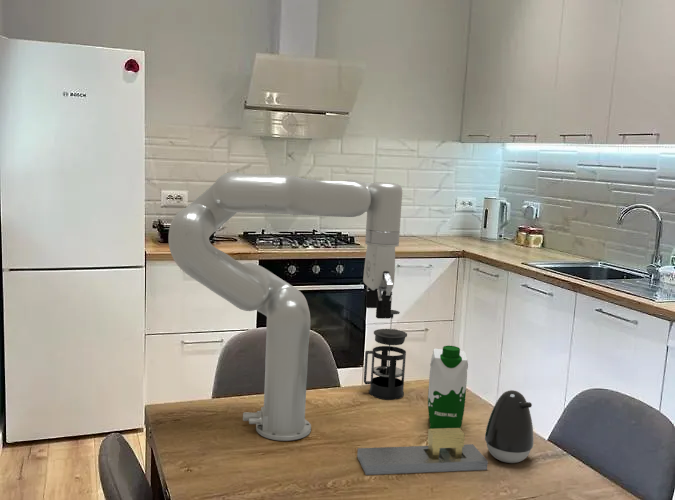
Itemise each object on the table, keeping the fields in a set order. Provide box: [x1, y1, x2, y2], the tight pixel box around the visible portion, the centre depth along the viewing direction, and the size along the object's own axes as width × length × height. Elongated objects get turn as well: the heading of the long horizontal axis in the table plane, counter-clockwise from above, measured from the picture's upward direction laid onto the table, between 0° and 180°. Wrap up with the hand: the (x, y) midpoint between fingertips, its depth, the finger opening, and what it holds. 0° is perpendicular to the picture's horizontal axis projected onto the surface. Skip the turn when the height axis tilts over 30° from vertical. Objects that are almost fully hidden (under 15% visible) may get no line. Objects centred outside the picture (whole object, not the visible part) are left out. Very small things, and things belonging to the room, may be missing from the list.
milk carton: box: [427, 345, 469, 430], centre depth 161 cm, size 9×9×20 cm
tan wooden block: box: [426, 428, 466, 460], centre depth 143 cm, size 7×3×7 cm, turn 101°
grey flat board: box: [356, 443, 489, 476], centre depth 142 cm, size 26×8×2 cm, turn 101°
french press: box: [363, 309, 408, 401], centre depth 181 cm, size 12×9×23 cm
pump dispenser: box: [484, 389, 534, 464], centre depth 146 cm, size 10×10×15 cm
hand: (377, 312), depth 153 cm, fingers open, 9 cm apart
